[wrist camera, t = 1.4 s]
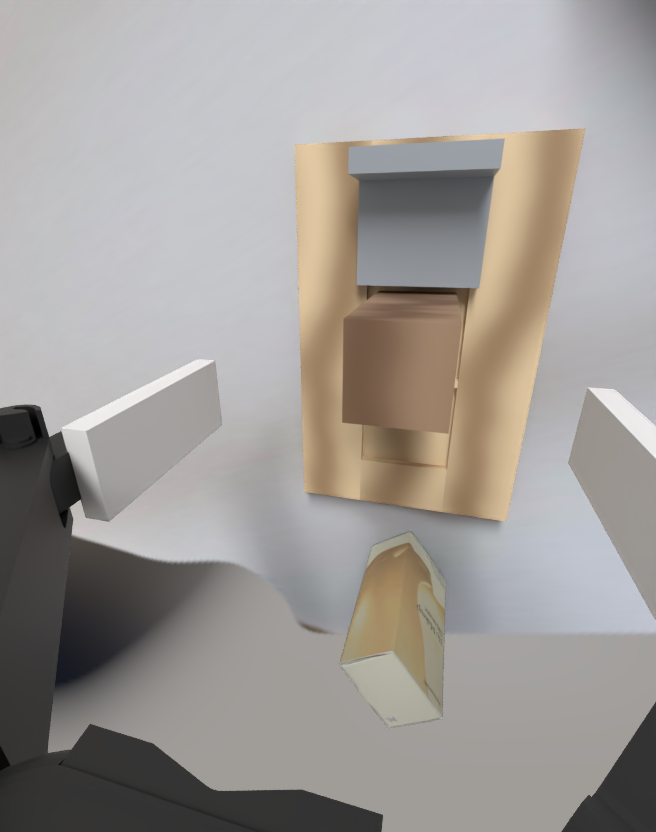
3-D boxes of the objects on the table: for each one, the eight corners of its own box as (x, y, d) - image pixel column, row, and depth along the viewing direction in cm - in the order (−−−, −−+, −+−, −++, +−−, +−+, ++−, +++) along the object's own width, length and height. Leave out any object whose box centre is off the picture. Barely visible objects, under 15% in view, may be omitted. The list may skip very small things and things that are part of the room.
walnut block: (456, 292, 27) (462, 323, 17) (447, 367, 29) (448, 433, 19) (379, 290, 28) (343, 318, 18) (376, 362, 30) (342, 422, 20)
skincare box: (447, 581, 37) (448, 724, 26) (405, 595, 39) (389, 733, 28) (409, 526, 36) (393, 652, 25) (367, 543, 38) (336, 667, 27)
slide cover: (495, 153, 23) (504, 138, 19) (478, 286, 26) (483, 294, 22) (362, 159, 25) (348, 146, 21) (359, 283, 27) (346, 290, 24)
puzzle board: (577, 135, 23) (585, 128, 22) (503, 509, 33) (506, 521, 32) (302, 149, 27) (294, 144, 26) (309, 482, 37) (304, 491, 35)
